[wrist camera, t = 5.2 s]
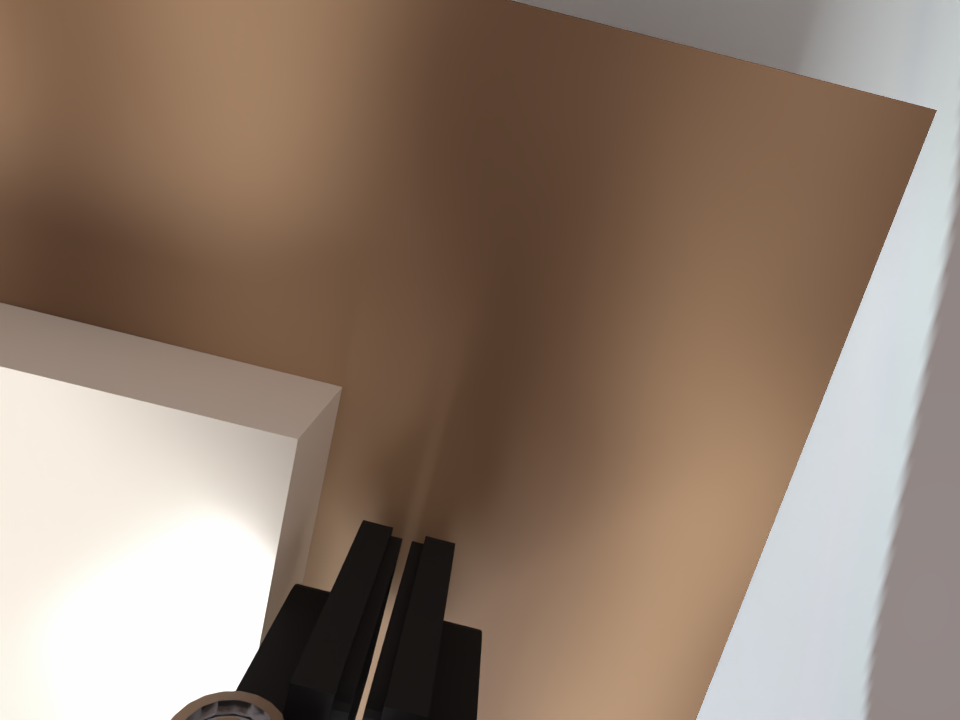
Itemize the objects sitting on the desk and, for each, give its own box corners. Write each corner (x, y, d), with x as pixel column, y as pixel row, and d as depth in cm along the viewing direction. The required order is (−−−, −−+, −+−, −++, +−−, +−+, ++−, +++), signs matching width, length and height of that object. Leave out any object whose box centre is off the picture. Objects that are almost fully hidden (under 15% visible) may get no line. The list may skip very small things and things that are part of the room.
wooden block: (779, 140, 16) (936, 110, 10) (555, 794, 21) (573, 1028, 15) (-216, -115, 15) (-658, -300, 10) (-202, 613, 20) (-487, 781, 15)
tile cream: (342, 386, 11) (297, 439, 9) (276, 713, 13) (224, 831, 11) (-59, 288, 11) (-212, 314, 9) (-72, 632, 13) (-204, 732, 11)
